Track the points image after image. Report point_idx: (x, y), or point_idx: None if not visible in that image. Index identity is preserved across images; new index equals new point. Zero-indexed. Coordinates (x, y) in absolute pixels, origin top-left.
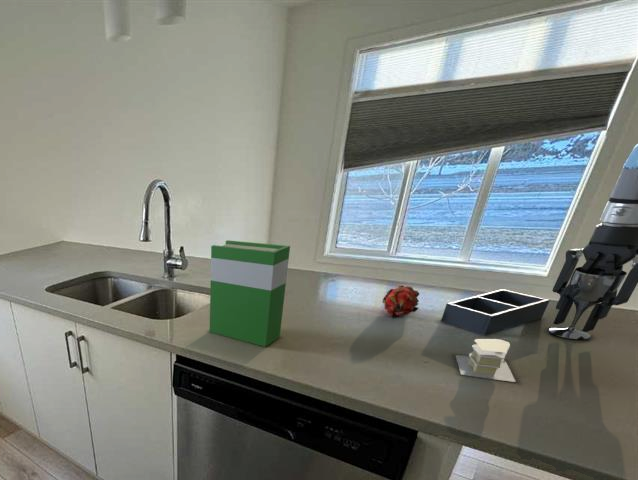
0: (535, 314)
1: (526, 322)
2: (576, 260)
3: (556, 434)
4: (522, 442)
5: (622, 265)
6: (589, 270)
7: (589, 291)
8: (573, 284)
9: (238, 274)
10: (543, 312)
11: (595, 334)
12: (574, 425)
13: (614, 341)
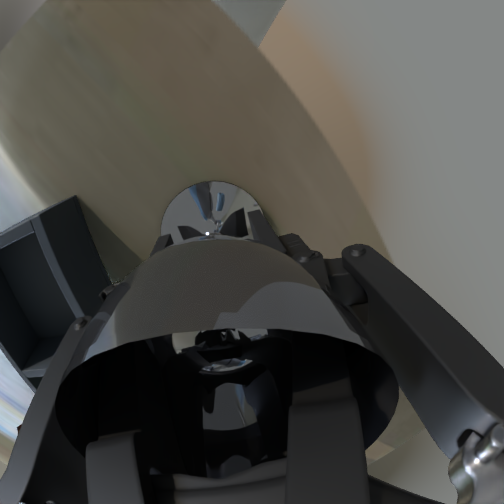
0: (83, 251)
1: (105, 272)
2: (52, 492)
3: (405, 430)
4: (395, 446)
5: (365, 462)
6: (176, 468)
7: (277, 404)
8: (198, 433)
9: None
10: (67, 206)
11: (238, 157)
12: (410, 418)
13: (300, 162)
